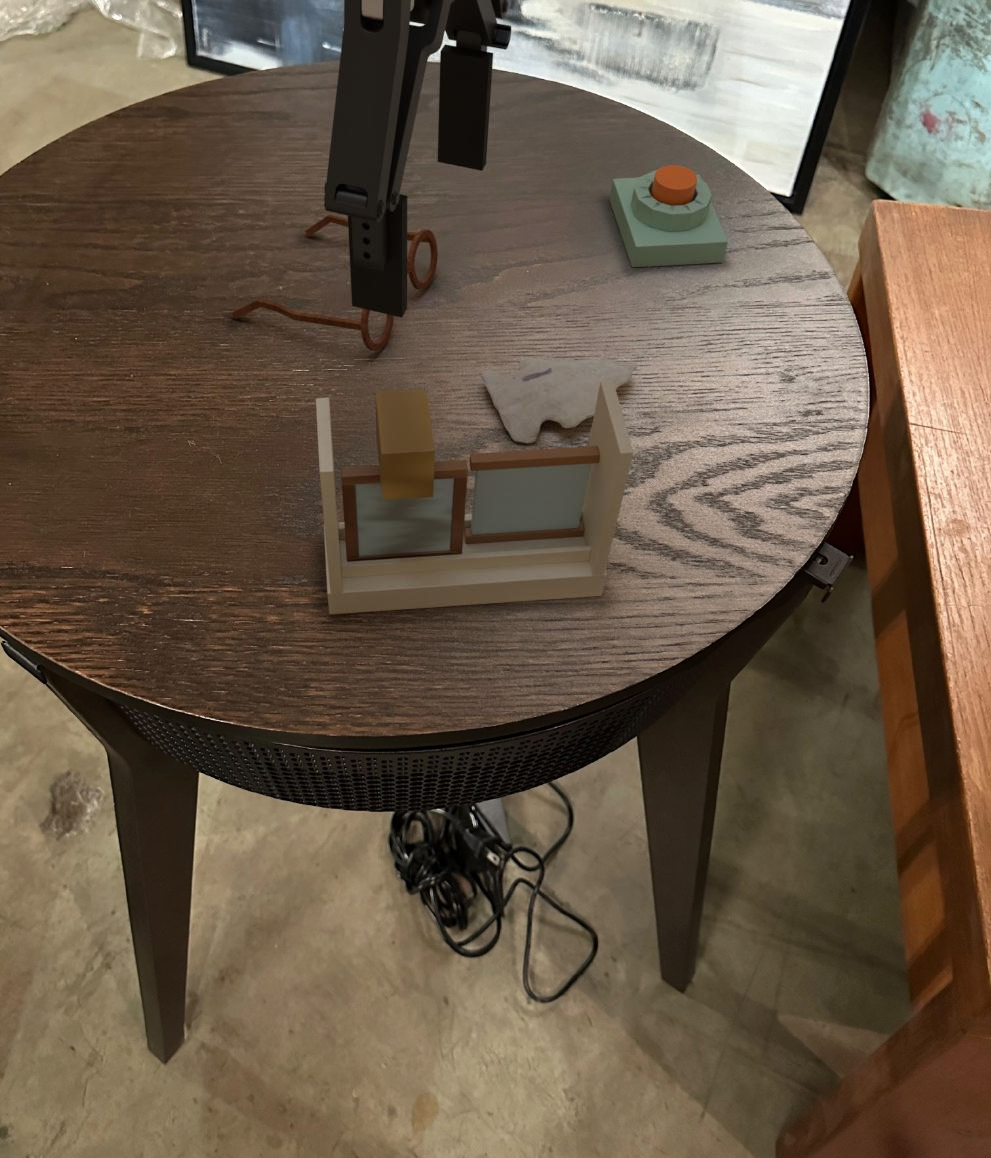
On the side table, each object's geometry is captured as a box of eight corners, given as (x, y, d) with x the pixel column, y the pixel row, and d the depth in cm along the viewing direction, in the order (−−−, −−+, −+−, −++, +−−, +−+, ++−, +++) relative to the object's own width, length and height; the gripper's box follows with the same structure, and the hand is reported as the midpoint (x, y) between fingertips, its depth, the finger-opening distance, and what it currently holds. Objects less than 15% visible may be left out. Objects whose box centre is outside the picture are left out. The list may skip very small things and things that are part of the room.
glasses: (372, 365, 88) (370, 316, 84) (231, 318, 91) (223, 268, 87) (440, 271, 95) (442, 222, 91) (307, 231, 98) (303, 181, 94)
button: (687, 181, 97) (691, 163, 95) (697, 206, 95) (701, 188, 93) (647, 183, 97) (650, 165, 95) (656, 208, 95) (660, 190, 93)
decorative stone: (475, 390, 88) (473, 364, 85) (610, 338, 89) (612, 311, 86) (519, 464, 83) (519, 439, 81) (661, 409, 84) (664, 382, 82)
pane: (457, 524, 75) (465, 385, 64) (465, 584, 72) (476, 447, 61) (344, 532, 74) (335, 393, 64) (348, 592, 71) (339, 456, 61)
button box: (694, 195, 102) (704, 155, 99) (722, 262, 96) (733, 223, 93) (609, 199, 101) (615, 160, 98) (631, 267, 95) (639, 228, 92)
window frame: (585, 527, 78) (616, 379, 67) (602, 596, 74) (637, 452, 63) (325, 544, 77) (312, 397, 66) (329, 614, 73) (316, 472, 62)
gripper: (440, -338, 51) (431, 101, 68) (201, -125, 36) (266, 362, 53) (600, -321, 49) (550, 123, 66) (415, -92, 35) (412, 398, 52)
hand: (423, 231), depth 60 cm, fingers open, 13 cm apart
